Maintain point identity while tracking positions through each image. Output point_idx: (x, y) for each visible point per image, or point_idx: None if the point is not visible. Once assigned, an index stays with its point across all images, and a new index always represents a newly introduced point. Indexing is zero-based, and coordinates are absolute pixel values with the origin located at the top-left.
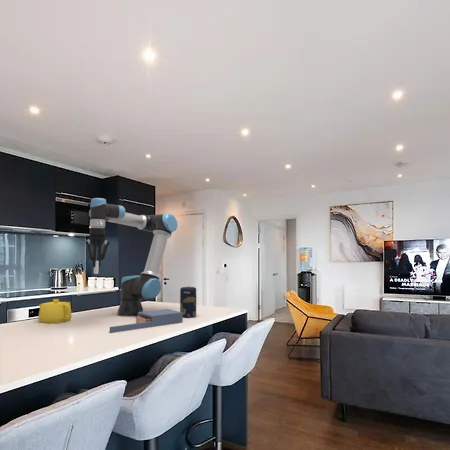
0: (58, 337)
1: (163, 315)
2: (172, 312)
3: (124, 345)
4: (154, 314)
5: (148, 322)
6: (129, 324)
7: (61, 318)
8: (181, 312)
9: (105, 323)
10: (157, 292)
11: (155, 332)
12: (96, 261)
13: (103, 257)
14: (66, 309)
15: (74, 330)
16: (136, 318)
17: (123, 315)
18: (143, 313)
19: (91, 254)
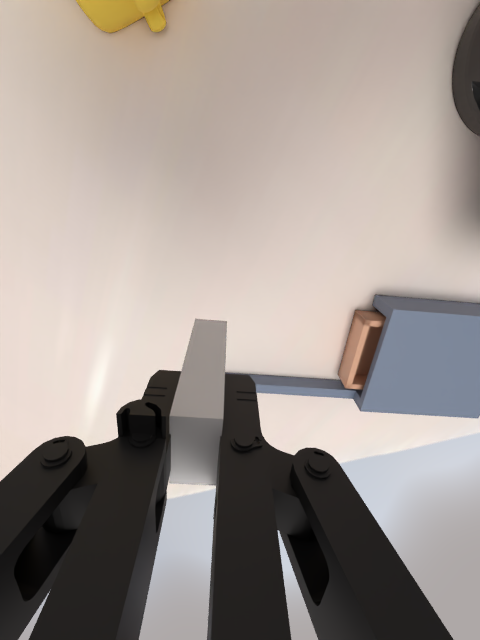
0: (71, 335)
1: (400, 411)
2: (456, 400)
3: (180, 489)
4: (387, 393)
5: (338, 397)
6: (276, 389)
7: (128, 17)
8: (473, 417)
9: (280, 225)
10: None
11: (301, 444)
12: (179, 476)
13: (307, 545)
14: (137, 7)
15: (137, 270)
16: (362, 318)
17: (455, 96)
18: (381, 350)
19: (25, 618)
